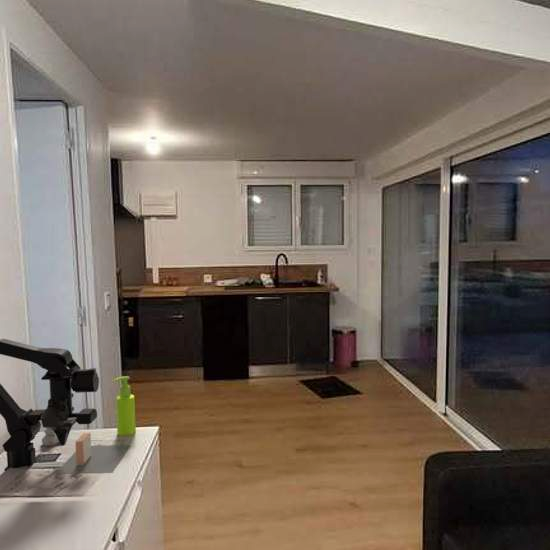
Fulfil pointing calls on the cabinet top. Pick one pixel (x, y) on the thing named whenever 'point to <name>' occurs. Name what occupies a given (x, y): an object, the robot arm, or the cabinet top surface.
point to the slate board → (96, 460)
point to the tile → (83, 448)
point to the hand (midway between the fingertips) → (63, 445)
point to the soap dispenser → (125, 409)
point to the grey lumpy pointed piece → (49, 437)
